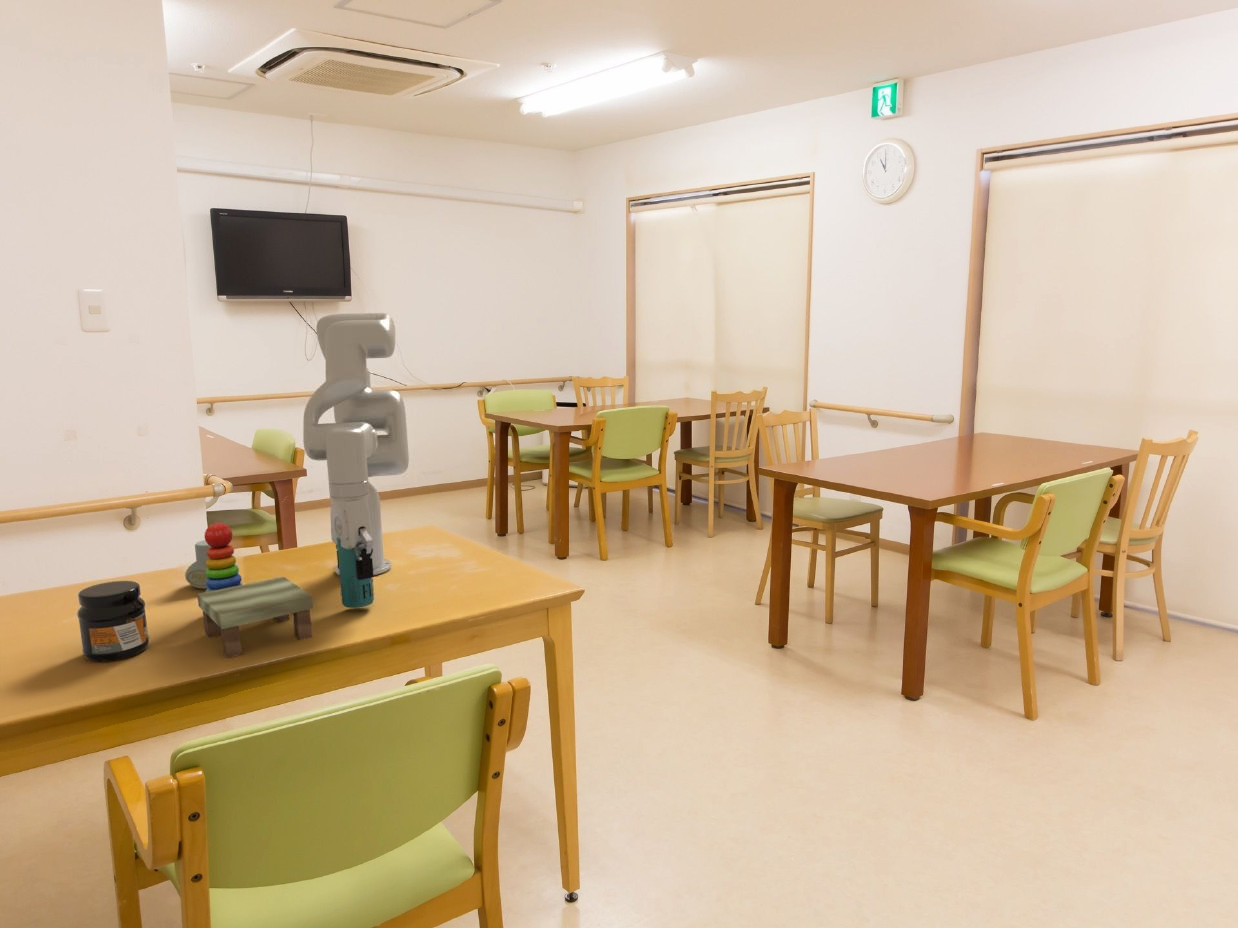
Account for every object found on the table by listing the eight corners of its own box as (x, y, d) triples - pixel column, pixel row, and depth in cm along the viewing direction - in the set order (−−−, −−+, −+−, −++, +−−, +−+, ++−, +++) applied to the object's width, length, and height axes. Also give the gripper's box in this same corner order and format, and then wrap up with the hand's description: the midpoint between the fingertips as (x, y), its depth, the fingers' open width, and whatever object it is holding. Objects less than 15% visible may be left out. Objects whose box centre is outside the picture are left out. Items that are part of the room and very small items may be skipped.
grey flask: (179, 590, 192) (174, 546, 190) (203, 578, 200) (198, 536, 198) (225, 592, 190) (220, 547, 189) (246, 580, 198) (242, 537, 197)
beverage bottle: (365, 616, 173) (358, 518, 170) (335, 614, 175) (327, 517, 171) (381, 605, 180) (374, 510, 176) (351, 603, 181) (344, 510, 177)
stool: (201, 634, 165) (197, 593, 164) (287, 614, 175) (283, 576, 174) (225, 659, 153) (220, 616, 152) (315, 636, 163) (312, 595, 161)
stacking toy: (257, 608, 179) (248, 520, 176) (228, 622, 172) (218, 530, 168) (226, 605, 182) (217, 517, 178) (196, 618, 174) (186, 527, 171)
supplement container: (139, 660, 154) (131, 595, 151) (73, 666, 151) (64, 600, 149) (157, 638, 164) (150, 577, 162) (96, 644, 162) (87, 582, 159)
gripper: (314, 486, 177) (321, 567, 180) (347, 499, 164) (354, 586, 167) (350, 481, 182) (356, 561, 185) (385, 493, 168) (391, 578, 171)
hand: (355, 573), depth 176 cm, fingers open, 9 cm apart
